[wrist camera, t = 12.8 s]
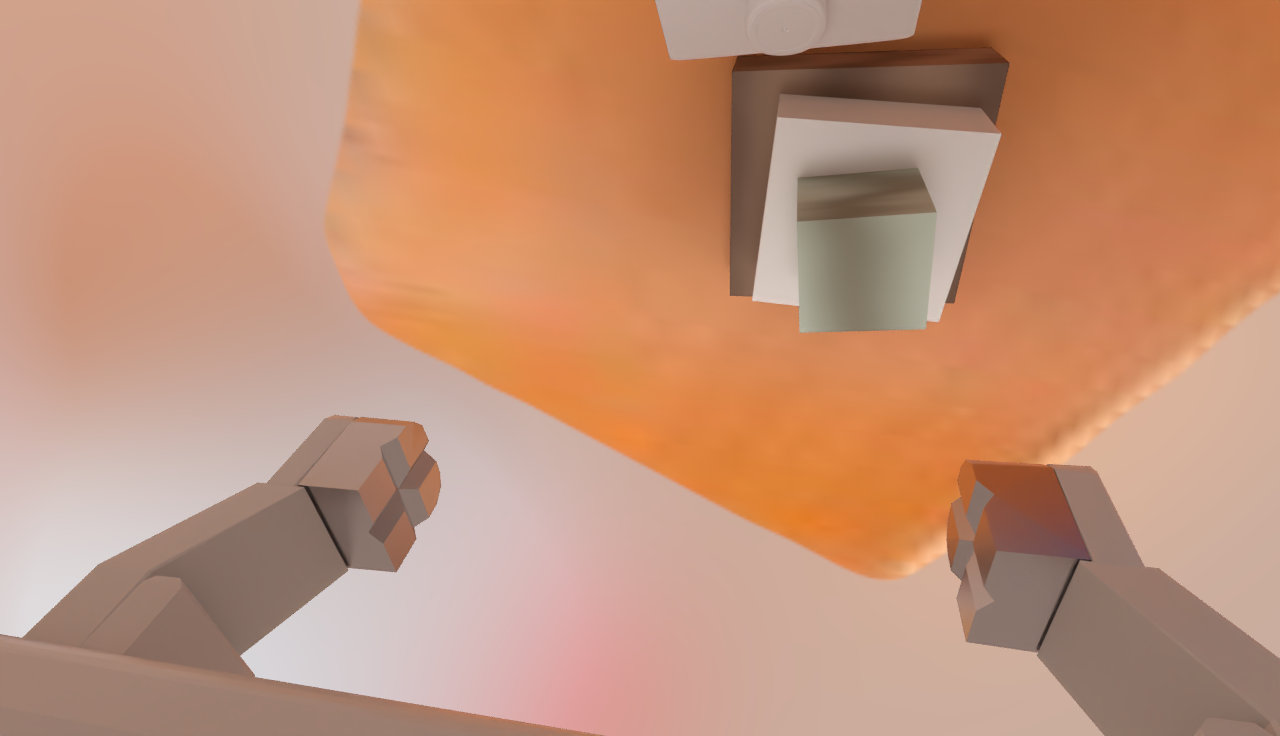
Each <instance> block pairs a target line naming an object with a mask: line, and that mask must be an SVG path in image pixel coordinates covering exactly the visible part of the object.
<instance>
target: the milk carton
mask: <svg viewBox="0 0 1280 736" xmlns="http://www.w3.org/2000/svg"><path fill="white" fill-rule="evenodd" d="M655 2H656V6H657V10H658V14H659V18H660V21H661V25H662V29H663V33H664V37H665V41H666V45H667V49H668V52H669V56H670V59H673V60H693V59H705V58H716V57H727V56H737V55H748V54H758V53H764V54H768V55H775V56H786V55H793V54H797V53H800V52H803V51H805V50H808V49H810V48H820V47H831V46H841V45H851V44H861V43H871V42H881V41H889V40H898V39H904V38H908V37H910V36H913V35H914V32H915V28H916V24H917V20H918V15H919V11H920V7H921V3H922V0H655Z"/></svg>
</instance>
